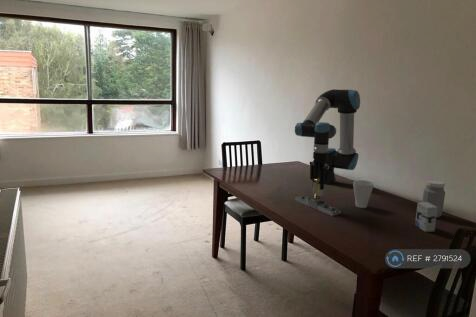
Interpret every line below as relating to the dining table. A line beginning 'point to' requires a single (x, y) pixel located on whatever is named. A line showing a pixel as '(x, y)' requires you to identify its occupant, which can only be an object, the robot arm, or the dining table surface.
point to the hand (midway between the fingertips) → (317, 194)
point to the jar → (435, 195)
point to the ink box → (426, 216)
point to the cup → (362, 192)
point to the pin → (316, 188)
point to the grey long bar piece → (318, 205)
